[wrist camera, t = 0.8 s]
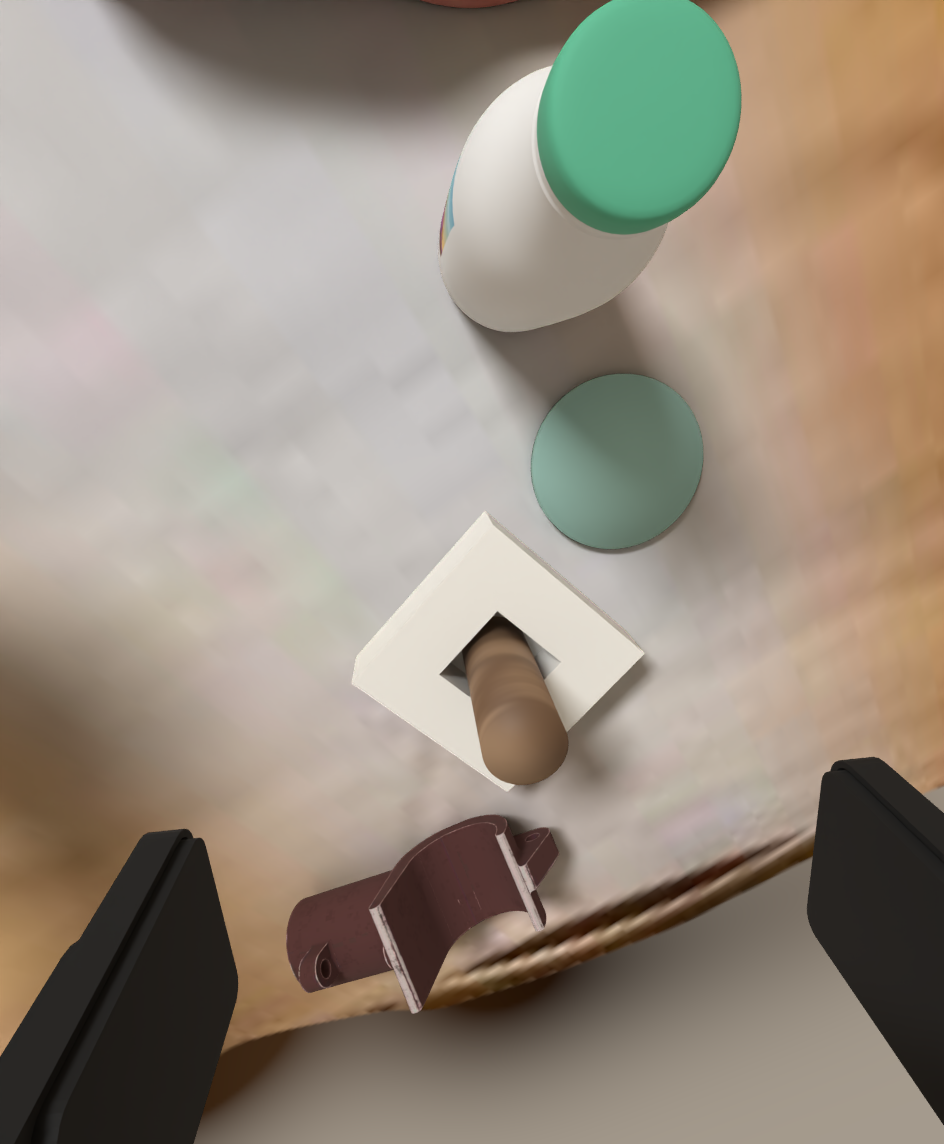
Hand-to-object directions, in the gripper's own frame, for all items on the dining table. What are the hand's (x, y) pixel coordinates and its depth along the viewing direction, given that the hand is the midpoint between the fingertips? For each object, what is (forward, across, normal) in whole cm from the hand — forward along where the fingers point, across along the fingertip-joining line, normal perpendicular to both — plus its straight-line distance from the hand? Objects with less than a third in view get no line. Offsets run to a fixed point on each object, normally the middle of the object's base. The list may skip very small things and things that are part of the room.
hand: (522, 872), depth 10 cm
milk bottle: (+29, -4, -12) cm, 32 cm away
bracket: (+29, +4, +25) cm, 39 cm away
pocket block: (+29, -2, +9) cm, 30 cm away
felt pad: (+29, -10, -1) cm, 30 cm away
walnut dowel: (+28, -2, +9) cm, 30 cm away
